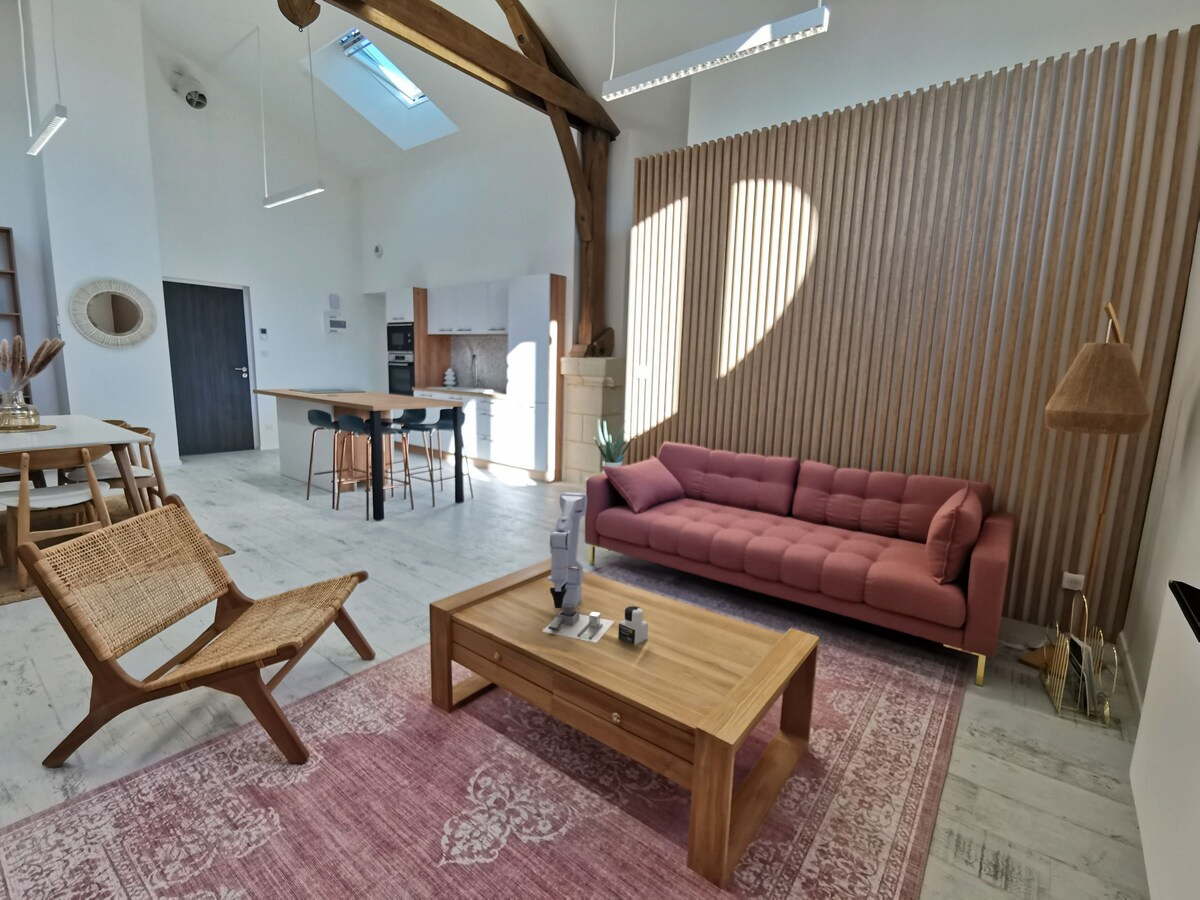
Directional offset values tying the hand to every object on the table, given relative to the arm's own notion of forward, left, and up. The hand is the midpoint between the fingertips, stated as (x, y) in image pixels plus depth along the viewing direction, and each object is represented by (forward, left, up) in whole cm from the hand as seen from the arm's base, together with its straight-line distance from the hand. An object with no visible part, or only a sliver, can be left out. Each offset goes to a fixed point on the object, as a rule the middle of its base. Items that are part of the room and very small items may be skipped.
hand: (559, 603), depth 204 cm
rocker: (+4, +1, -6) cm, 7 cm away
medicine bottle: (-1, +27, -10) cm, 29 cm away
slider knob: (-4, +12, -8) cm, 15 cm away
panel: (-2, +7, -9) cm, 12 cm away
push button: (-4, +2, -6) cm, 8 cm away
